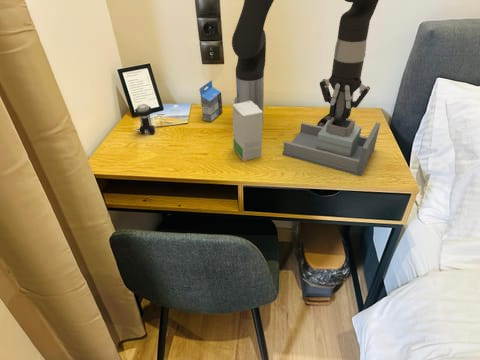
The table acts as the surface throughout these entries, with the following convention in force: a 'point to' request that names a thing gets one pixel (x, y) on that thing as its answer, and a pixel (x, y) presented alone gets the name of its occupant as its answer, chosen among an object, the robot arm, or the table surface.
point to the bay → (307, 151)
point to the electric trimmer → (324, 120)
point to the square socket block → (339, 138)
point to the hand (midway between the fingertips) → (339, 117)
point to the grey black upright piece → (145, 119)
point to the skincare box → (247, 130)
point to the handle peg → (339, 109)
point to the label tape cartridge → (210, 102)
